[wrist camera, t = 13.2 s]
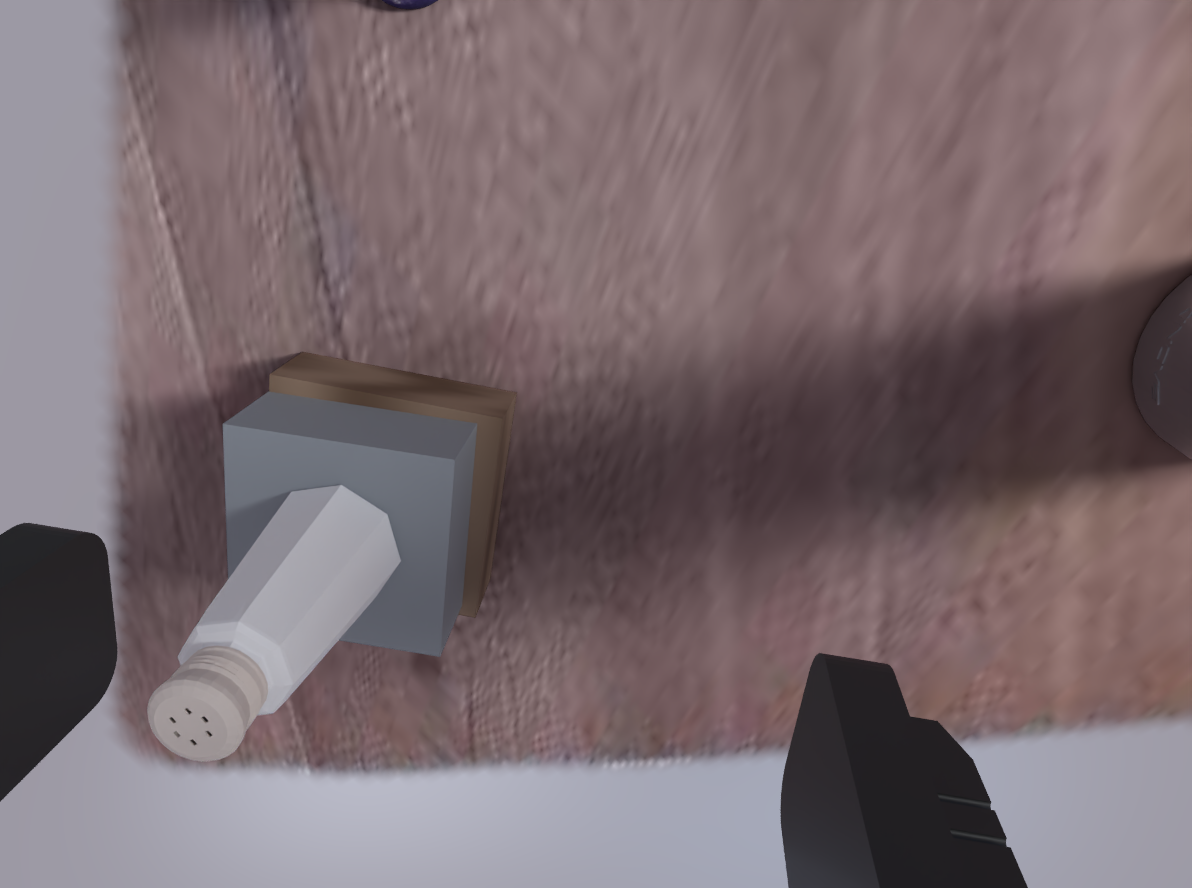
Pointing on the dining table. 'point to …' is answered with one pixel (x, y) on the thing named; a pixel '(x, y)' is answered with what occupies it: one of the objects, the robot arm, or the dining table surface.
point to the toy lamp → (409, 3)
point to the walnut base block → (429, 399)
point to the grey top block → (378, 475)
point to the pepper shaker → (274, 619)
